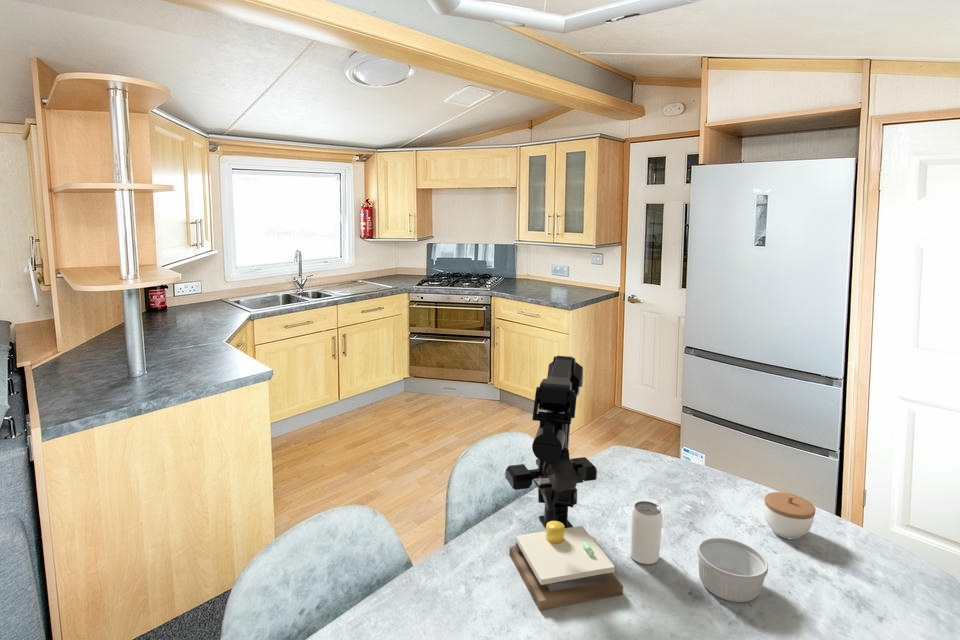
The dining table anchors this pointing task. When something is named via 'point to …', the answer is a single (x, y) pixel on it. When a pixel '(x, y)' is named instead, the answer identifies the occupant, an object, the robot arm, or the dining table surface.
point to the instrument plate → (563, 554)
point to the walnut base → (563, 594)
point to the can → (645, 533)
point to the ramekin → (731, 569)
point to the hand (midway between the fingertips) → (549, 509)
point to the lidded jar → (788, 514)
